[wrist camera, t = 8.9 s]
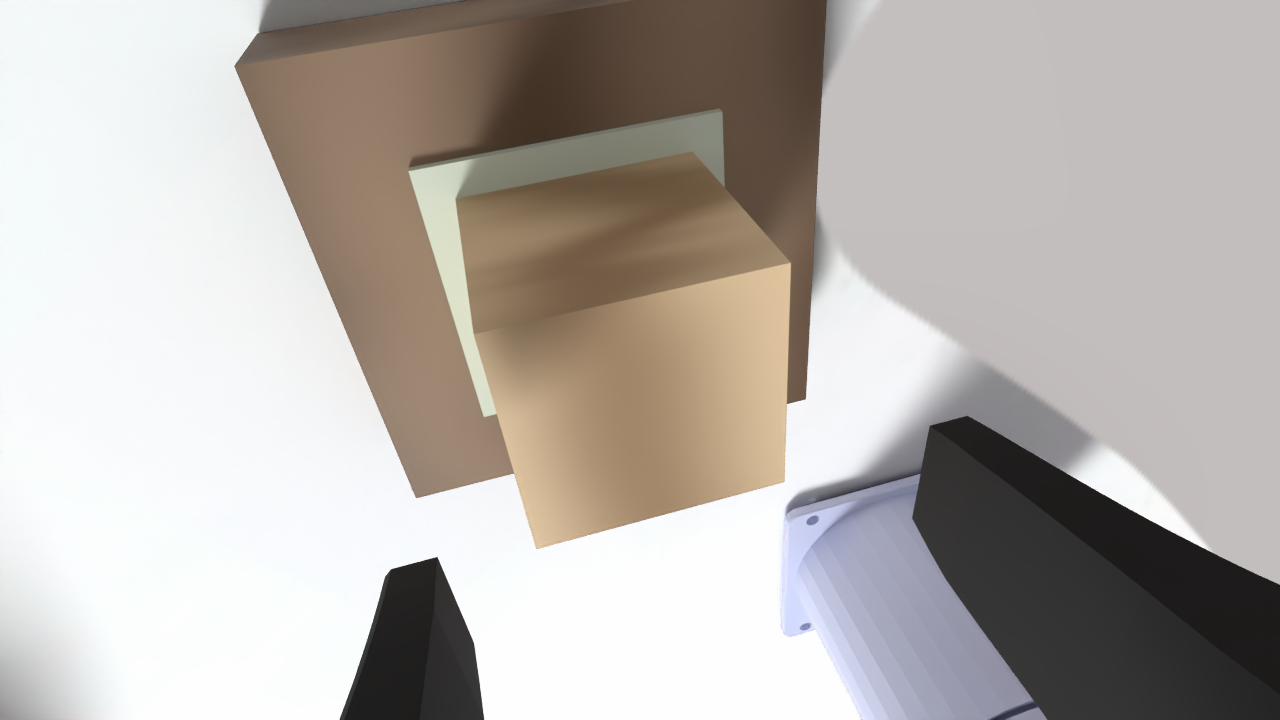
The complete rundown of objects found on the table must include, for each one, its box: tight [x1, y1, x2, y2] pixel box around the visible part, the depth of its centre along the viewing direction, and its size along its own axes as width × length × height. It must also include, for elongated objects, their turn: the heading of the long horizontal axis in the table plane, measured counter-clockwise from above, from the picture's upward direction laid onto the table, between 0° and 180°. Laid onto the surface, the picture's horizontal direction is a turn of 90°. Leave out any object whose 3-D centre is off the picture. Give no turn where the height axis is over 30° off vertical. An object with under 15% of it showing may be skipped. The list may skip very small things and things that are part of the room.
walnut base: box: [235, 0, 827, 498], centre depth 18 cm, size 11×11×3 cm
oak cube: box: [455, 152, 791, 549], centre depth 15 cm, size 5×5×5 cm
